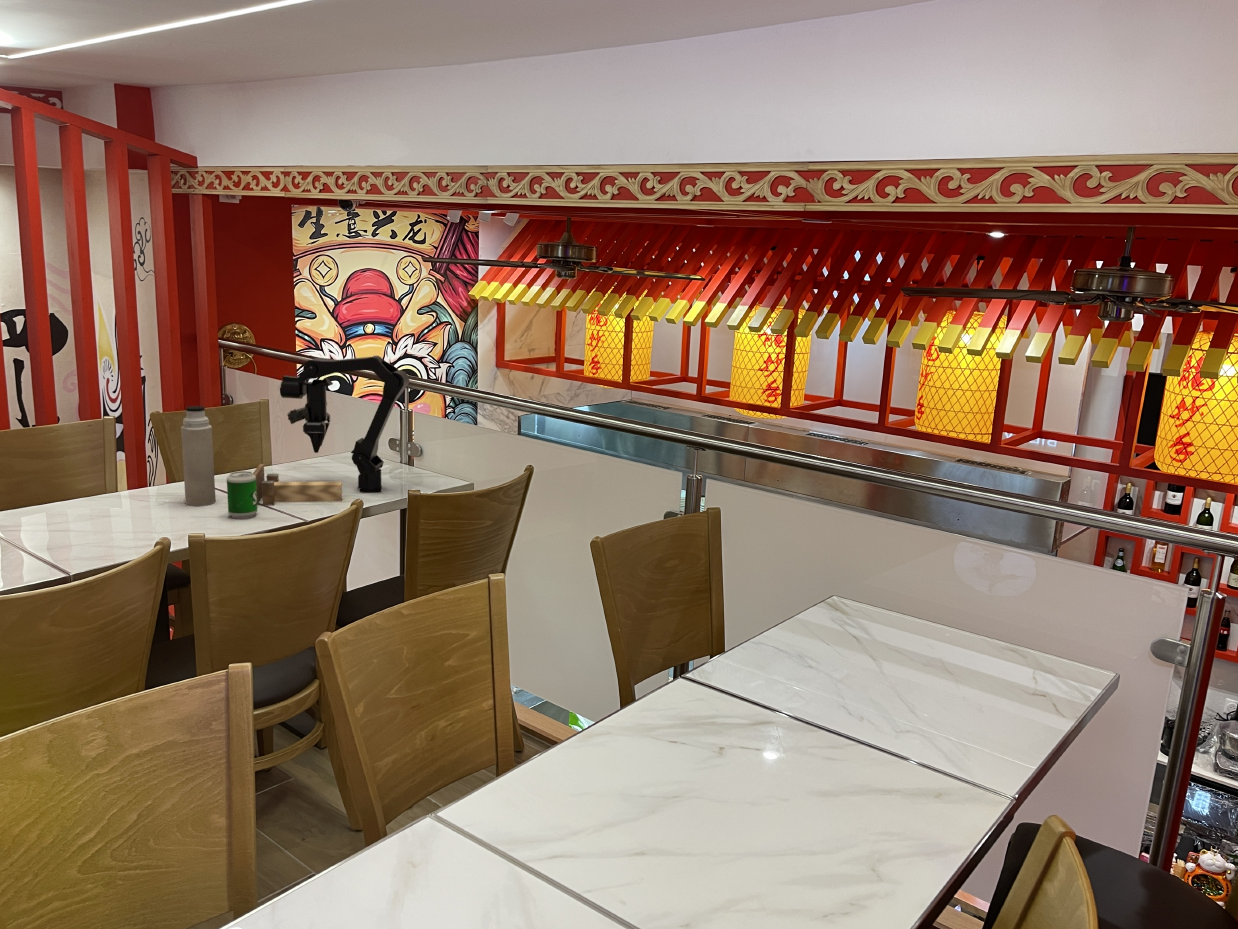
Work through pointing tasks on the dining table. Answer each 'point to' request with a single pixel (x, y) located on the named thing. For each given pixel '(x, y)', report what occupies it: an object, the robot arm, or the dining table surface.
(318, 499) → the rail
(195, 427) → the thermos bottle
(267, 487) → the headboard
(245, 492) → the soda can
